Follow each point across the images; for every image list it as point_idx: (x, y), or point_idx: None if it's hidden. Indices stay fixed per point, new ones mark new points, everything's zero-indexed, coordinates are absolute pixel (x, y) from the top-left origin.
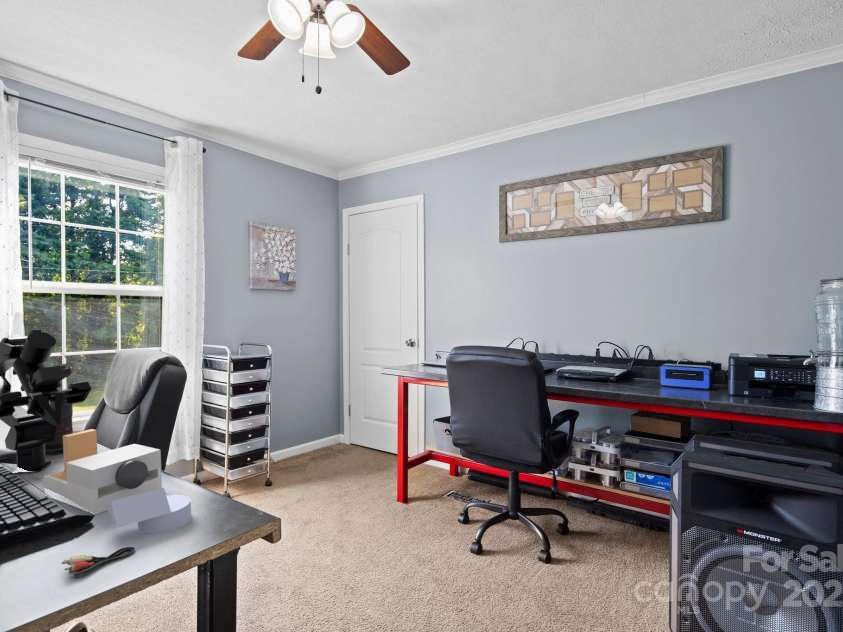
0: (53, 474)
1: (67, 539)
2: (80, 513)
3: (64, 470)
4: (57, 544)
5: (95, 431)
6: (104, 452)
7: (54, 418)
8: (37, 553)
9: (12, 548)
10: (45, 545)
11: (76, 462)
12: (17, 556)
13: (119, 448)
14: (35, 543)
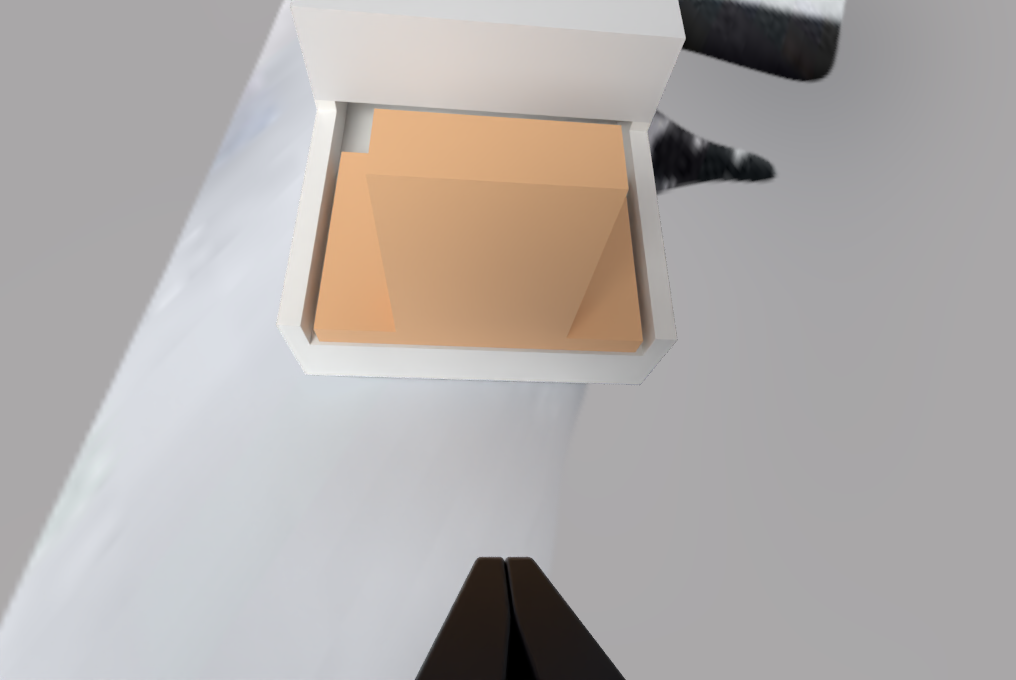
0: (627, 332)
1: (713, 4)
2: None
3: (567, 335)
4: (738, 2)
5: (383, 119)
6: (485, 15)
7: (560, 615)
8: (783, 3)
9: (823, 69)
10: (760, 20)
11: (652, 3)
12: (820, 26)
13: (398, 4)
14: (775, 47)
